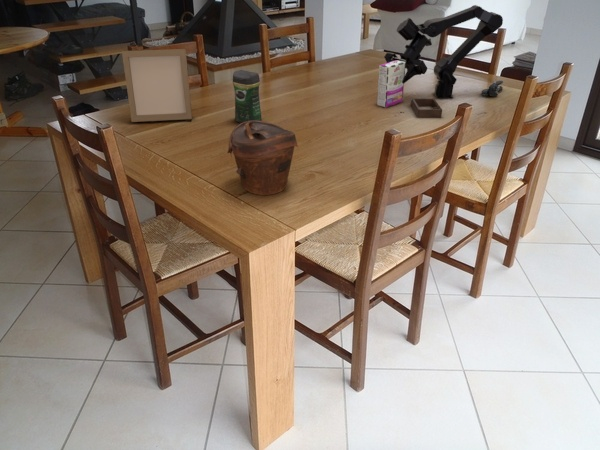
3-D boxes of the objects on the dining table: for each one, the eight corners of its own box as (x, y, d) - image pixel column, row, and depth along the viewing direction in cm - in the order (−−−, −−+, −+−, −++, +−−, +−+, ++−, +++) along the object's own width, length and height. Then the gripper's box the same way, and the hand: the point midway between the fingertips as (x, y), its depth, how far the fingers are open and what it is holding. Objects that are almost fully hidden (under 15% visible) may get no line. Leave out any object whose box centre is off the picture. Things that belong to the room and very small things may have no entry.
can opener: (494, 99, 211) (497, 86, 208) (478, 96, 215) (481, 83, 212) (508, 90, 223) (511, 77, 220) (493, 87, 227) (495, 74, 224)
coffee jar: (265, 120, 188) (263, 71, 178) (251, 127, 183) (249, 75, 173) (245, 115, 193) (242, 66, 183) (231, 121, 187) (228, 71, 178)
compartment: (432, 105, 204) (433, 98, 202) (441, 117, 192) (442, 109, 190) (410, 105, 204) (411, 98, 202) (417, 117, 192) (418, 109, 190)
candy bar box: (393, 99, 211) (396, 59, 202) (402, 102, 207) (406, 61, 199) (375, 105, 204) (378, 64, 196) (385, 108, 201) (388, 66, 193)
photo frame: (192, 121, 187) (184, 52, 174) (132, 124, 184) (119, 54, 171) (192, 108, 200) (185, 43, 187) (136, 111, 197) (125, 45, 184)
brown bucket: (243, 167, 153) (239, 111, 144) (305, 176, 149) (306, 118, 139) (218, 194, 139) (213, 132, 129) (287, 204, 134) (286, 141, 125)
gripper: (440, 65, 202) (419, 97, 202) (404, 56, 214) (384, 86, 214) (431, 47, 193) (409, 81, 193) (394, 39, 206) (373, 71, 205)
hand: (394, 80), depth 202 cm, fingers open, 9 cm apart
